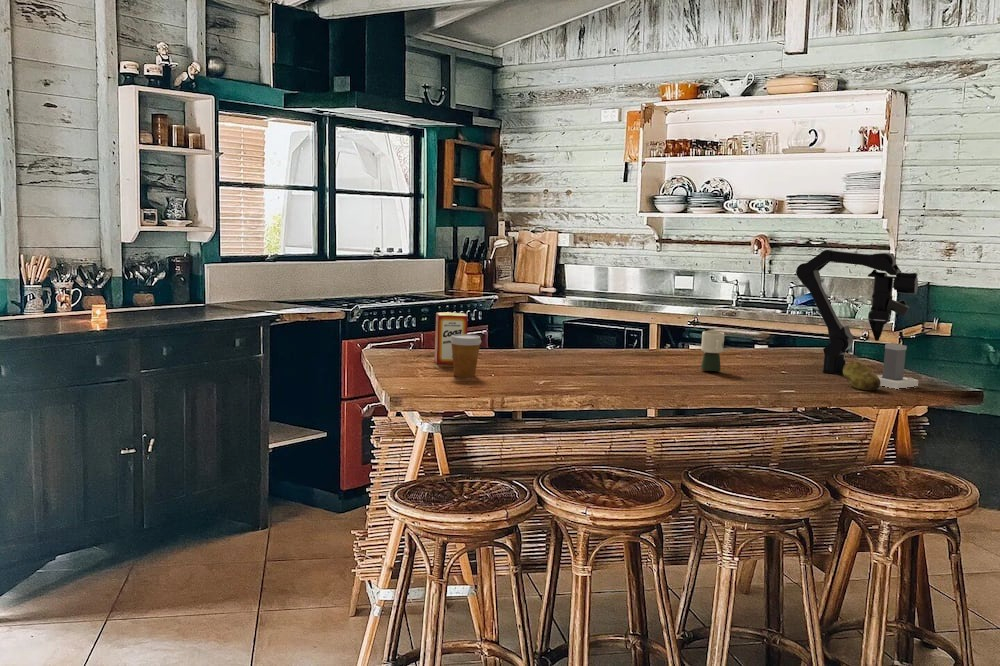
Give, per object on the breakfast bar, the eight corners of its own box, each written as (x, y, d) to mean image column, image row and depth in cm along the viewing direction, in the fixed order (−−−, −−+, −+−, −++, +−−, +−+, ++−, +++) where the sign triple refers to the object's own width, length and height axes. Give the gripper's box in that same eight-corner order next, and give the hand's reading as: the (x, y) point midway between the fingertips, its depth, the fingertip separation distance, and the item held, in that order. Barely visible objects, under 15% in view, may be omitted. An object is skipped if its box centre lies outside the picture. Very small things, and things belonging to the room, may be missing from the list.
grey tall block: (881, 382, 313) (885, 344, 311) (890, 381, 316) (894, 343, 314) (894, 385, 309) (898, 346, 307) (902, 384, 312) (906, 345, 310)
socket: (866, 383, 314) (867, 374, 314) (887, 380, 320) (888, 372, 320) (896, 389, 305) (897, 381, 305) (917, 387, 311) (918, 378, 311)
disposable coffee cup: (473, 372, 304) (475, 333, 302) (484, 378, 295) (486, 338, 293) (444, 372, 300) (446, 334, 299) (454, 378, 292) (455, 339, 290)
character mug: (726, 375, 318) (729, 335, 316) (705, 374, 317) (708, 334, 315) (715, 368, 328) (718, 330, 326) (694, 368, 327) (697, 329, 326)
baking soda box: (463, 360, 324) (464, 312, 321) (465, 363, 317) (467, 314, 315) (434, 360, 322) (436, 311, 320) (436, 363, 316) (438, 314, 313)
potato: (856, 392, 298) (859, 366, 297) (837, 383, 311) (839, 358, 310) (882, 392, 299) (885, 366, 298) (862, 384, 312) (865, 359, 311)
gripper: (908, 295, 308) (903, 345, 310) (909, 291, 325) (905, 338, 327) (870, 293, 313) (865, 341, 315) (874, 288, 329) (869, 334, 332)
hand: (877, 338), depth 322 cm, fingers open, 9 cm apart
